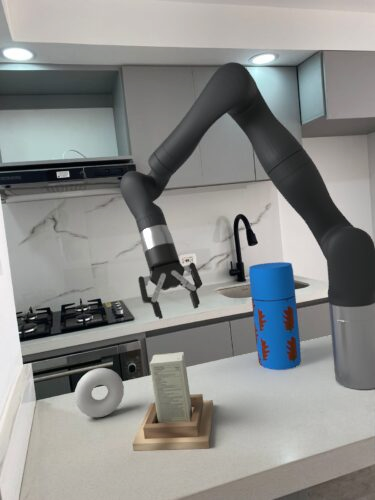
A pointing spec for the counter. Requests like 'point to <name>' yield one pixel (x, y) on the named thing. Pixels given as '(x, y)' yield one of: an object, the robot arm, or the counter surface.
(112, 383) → the donut
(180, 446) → the wooden square holder
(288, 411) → the counter surface
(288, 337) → the thermos
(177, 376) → the skincare box
